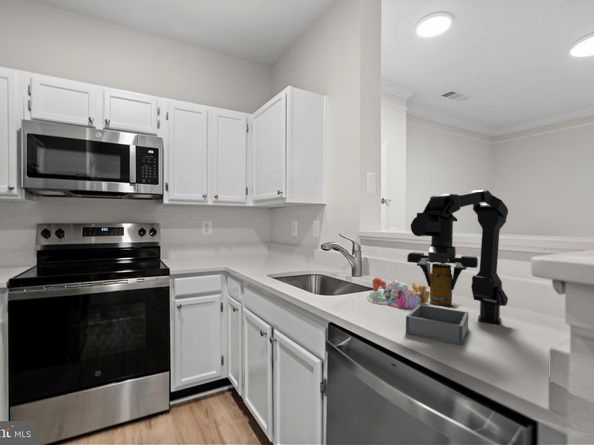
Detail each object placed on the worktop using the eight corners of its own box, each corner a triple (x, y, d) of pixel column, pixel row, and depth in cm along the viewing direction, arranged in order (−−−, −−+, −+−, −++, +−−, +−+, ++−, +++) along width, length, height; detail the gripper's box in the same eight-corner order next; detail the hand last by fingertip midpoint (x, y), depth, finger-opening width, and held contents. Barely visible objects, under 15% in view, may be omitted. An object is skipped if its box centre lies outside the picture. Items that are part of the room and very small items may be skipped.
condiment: (433, 300, 98) (433, 262, 98) (462, 305, 93) (463, 265, 92) (424, 304, 93) (425, 264, 93) (455, 310, 87) (456, 267, 87)
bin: (418, 319, 105) (419, 304, 105) (468, 328, 97) (468, 312, 96) (405, 333, 91) (406, 316, 91) (461, 345, 83) (462, 326, 83)
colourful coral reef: (420, 296, 139) (421, 276, 139) (439, 311, 116) (440, 286, 116) (364, 294, 141) (364, 274, 141) (371, 308, 118) (372, 284, 118)
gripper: (403, 235, 92) (402, 288, 92) (476, 238, 81) (474, 298, 81) (412, 234, 101) (411, 282, 101) (478, 237, 91) (477, 290, 91)
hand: (440, 288), depth 93 cm, fingers closed on condiment, 6 cm apart
